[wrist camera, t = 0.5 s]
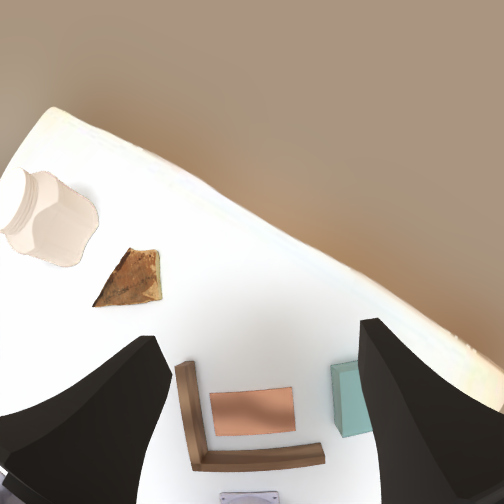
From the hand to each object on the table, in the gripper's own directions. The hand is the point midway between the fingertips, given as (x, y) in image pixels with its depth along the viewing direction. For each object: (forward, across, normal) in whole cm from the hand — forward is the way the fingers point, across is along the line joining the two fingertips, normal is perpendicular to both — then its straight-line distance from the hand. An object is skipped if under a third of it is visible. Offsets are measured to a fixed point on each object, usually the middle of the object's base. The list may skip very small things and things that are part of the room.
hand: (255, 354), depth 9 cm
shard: (+23, +20, +9) cm, 32 cm away
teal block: (+16, -6, +23) cm, 28 cm away
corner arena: (+14, +6, +23) cm, 27 cm away
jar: (+27, +32, 0) cm, 42 cm away
